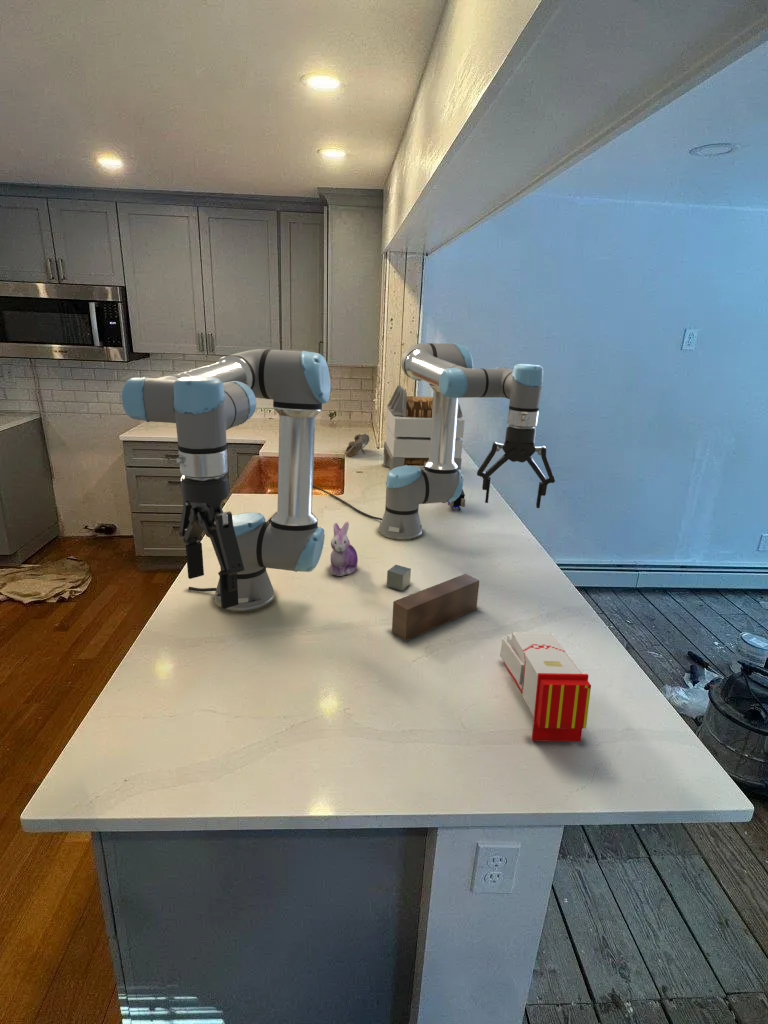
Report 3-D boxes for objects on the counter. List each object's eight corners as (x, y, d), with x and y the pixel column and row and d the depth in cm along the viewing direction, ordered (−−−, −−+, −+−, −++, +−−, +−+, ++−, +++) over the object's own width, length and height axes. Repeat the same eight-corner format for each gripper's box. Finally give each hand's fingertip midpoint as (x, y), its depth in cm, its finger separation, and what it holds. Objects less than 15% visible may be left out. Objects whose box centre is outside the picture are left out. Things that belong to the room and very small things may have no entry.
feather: (284, 506, 225) (286, 502, 224) (266, 530, 198) (268, 525, 198) (280, 504, 225) (282, 500, 224) (261, 527, 198) (264, 523, 197)
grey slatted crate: (382, 463, 289) (386, 382, 275) (445, 464, 293) (451, 384, 279) (390, 482, 257) (394, 392, 243) (460, 483, 261) (468, 394, 247)
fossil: (345, 440, 316) (366, 424, 311) (356, 453, 319) (377, 438, 314) (339, 453, 297) (361, 437, 292) (350, 467, 300) (373, 452, 295)
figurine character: (465, 515, 224) (460, 499, 237) (467, 498, 221) (462, 483, 234) (448, 515, 224) (444, 499, 237) (450, 498, 220) (445, 482, 234)
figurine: (335, 579, 164) (336, 531, 159) (322, 565, 172) (322, 519, 167) (364, 574, 168) (366, 527, 163) (350, 560, 177) (351, 515, 172)
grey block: (386, 586, 162) (387, 570, 160) (394, 579, 166) (395, 564, 164) (402, 591, 160) (403, 575, 158) (410, 584, 164) (411, 568, 162)
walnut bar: (405, 641, 136) (407, 609, 133) (391, 631, 139) (393, 601, 136) (476, 608, 152) (479, 580, 149) (462, 601, 155) (465, 573, 153)
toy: (548, 616, 130) (600, 681, 101) (542, 669, 133) (592, 748, 104) (495, 615, 130) (533, 680, 101) (491, 669, 133) (526, 747, 103)
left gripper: (153, 460, 99) (164, 570, 106) (216, 498, 81) (224, 627, 89) (194, 455, 104) (202, 560, 111) (263, 490, 86) (266, 613, 93)
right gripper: (472, 425, 145) (464, 503, 152) (573, 432, 141) (560, 513, 148) (473, 420, 152) (466, 495, 159) (570, 427, 148) (558, 504, 155)
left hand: (212, 590), depth 100 cm, fingers open, 13 cm apart
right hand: (511, 504), depth 154 cm, fingers open, 13 cm apart
